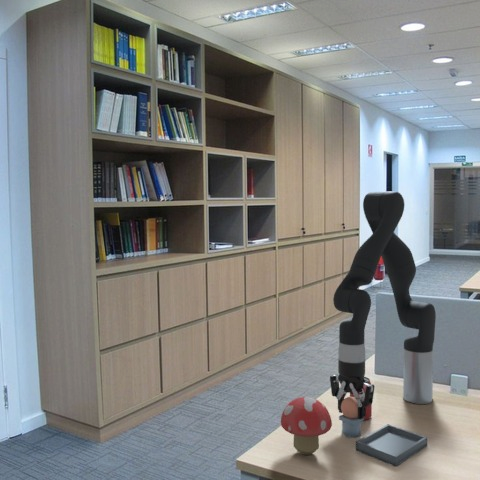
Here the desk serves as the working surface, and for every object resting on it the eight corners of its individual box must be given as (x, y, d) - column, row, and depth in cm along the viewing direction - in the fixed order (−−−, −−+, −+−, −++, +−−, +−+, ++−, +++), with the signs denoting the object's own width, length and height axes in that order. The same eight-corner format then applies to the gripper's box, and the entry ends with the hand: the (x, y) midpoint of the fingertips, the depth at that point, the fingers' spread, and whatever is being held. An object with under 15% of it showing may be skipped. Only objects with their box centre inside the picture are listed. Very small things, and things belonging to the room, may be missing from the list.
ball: (348, 412, 154) (349, 392, 154) (366, 417, 150) (366, 397, 149) (336, 417, 150) (336, 397, 150) (354, 423, 146) (354, 402, 145)
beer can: (372, 421, 158) (372, 383, 157) (349, 420, 159) (350, 381, 158) (371, 413, 164) (371, 376, 164) (349, 411, 166) (349, 374, 165)
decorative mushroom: (331, 468, 130) (332, 409, 129) (278, 464, 132) (278, 406, 131) (331, 444, 143) (331, 390, 142) (283, 441, 146) (282, 388, 145)
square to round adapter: (349, 427, 154) (349, 411, 153) (364, 433, 150) (364, 416, 150) (338, 433, 150) (338, 416, 150) (353, 439, 146) (353, 421, 146)
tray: (387, 432, 150) (388, 424, 150) (427, 446, 142) (427, 437, 141) (355, 450, 139) (355, 441, 139) (396, 466, 131) (396, 456, 131)
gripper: (381, 360, 146) (380, 419, 147) (339, 350, 156) (338, 405, 158) (365, 366, 141) (365, 426, 142) (323, 355, 151) (323, 411, 152)
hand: (351, 415), depth 150 cm, fingers closed on ball, 6 cm apart
